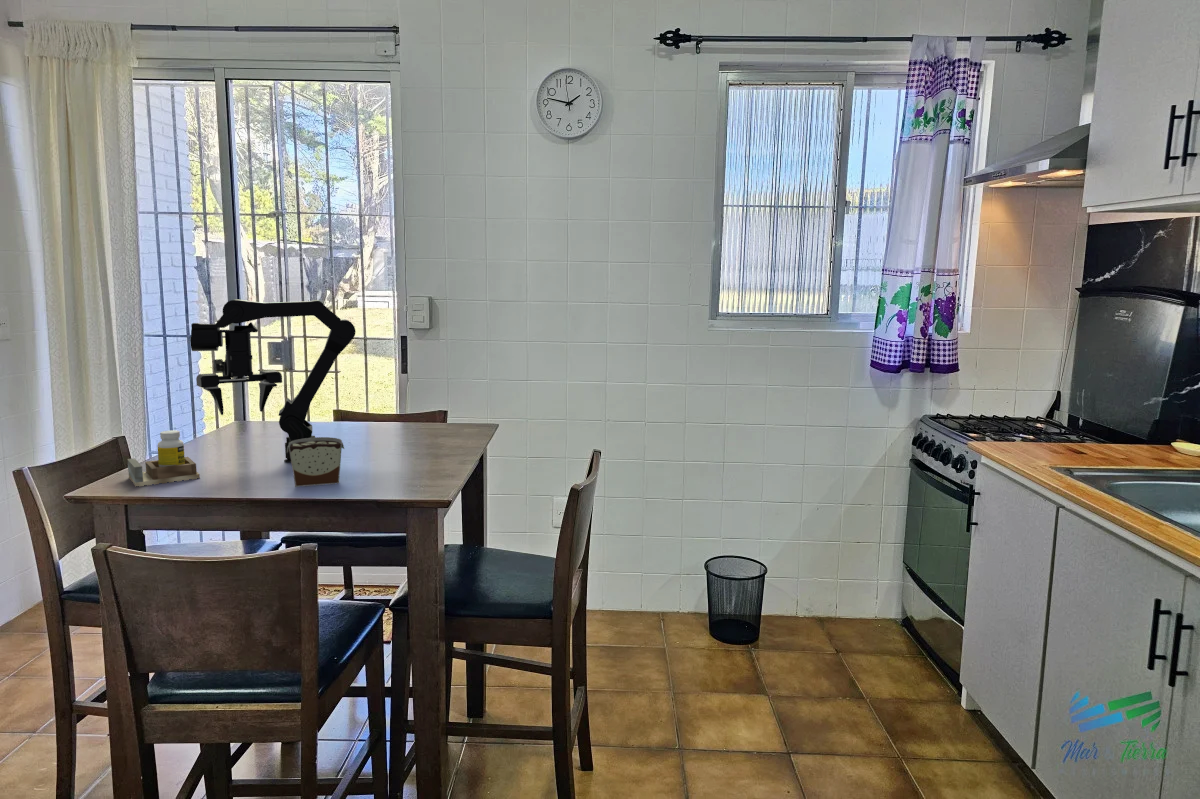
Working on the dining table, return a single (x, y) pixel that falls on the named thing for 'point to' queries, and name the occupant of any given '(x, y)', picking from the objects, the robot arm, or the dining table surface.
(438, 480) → the dining table surface
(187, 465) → the wooden display tray
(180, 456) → the supplement bottle
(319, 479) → the food container
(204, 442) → the dining table surface
